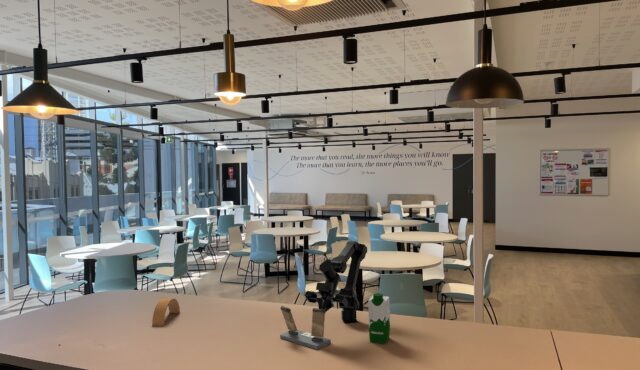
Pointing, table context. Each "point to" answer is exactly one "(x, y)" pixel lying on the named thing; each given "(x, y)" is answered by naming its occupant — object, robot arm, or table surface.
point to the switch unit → (305, 339)
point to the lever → (288, 318)
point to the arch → (164, 310)
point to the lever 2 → (318, 322)
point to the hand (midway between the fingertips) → (319, 316)
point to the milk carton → (379, 318)
